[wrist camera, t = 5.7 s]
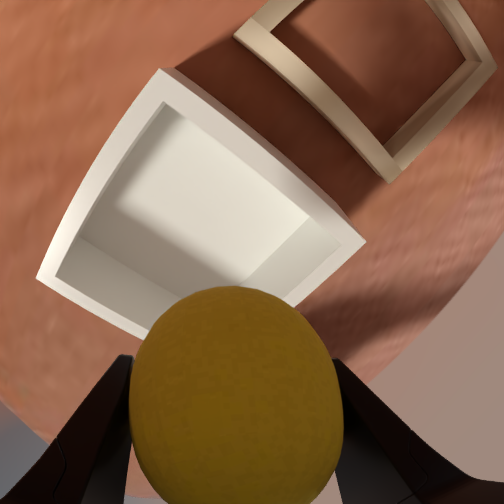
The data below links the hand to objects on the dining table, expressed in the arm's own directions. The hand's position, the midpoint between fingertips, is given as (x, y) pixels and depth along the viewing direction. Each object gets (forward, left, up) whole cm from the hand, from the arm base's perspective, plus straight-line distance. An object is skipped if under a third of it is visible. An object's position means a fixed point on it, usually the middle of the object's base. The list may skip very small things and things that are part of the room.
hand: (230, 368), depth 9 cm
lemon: (0, 0, -3) cm, 3 cm away
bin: (0, +2, -13) cm, 13 cm away
